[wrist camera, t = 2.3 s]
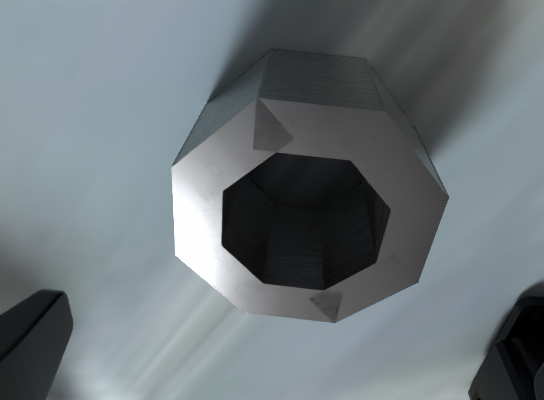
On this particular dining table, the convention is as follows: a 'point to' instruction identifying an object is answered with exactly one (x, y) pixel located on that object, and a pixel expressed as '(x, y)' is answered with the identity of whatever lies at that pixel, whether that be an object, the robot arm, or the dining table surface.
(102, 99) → the dining table surface
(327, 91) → the hub ring
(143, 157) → the dining table surface
